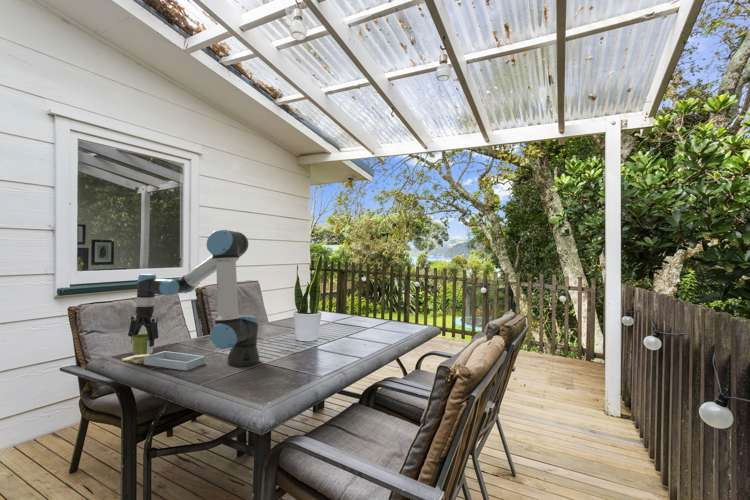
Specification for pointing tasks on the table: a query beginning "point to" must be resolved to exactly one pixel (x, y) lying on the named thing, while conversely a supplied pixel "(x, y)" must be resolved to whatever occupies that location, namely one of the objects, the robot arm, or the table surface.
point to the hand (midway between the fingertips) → (141, 352)
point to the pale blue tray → (163, 361)
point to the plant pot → (140, 344)
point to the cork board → (135, 358)
